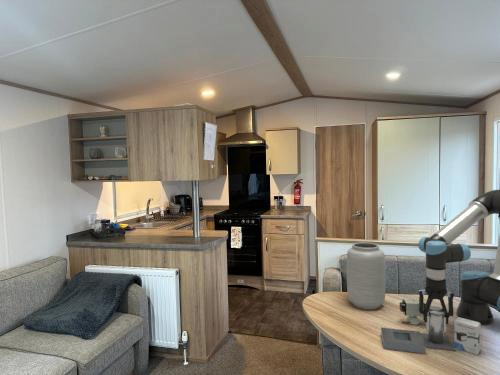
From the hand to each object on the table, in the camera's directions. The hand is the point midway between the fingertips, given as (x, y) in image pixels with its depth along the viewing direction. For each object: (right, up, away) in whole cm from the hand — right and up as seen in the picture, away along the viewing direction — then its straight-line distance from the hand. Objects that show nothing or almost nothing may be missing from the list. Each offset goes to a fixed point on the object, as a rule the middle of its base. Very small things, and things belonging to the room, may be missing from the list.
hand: (435, 329), depth 143 cm
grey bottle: (0, -4, 0) cm, 4 cm away
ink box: (+10, -6, -6) cm, 13 cm away
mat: (0, -5, 0) cm, 5 cm away
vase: (-16, -4, +42) cm, 45 cm away
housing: (-15, -6, 0) cm, 16 cm away
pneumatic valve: (-1, -5, +18) cm, 19 cm away
